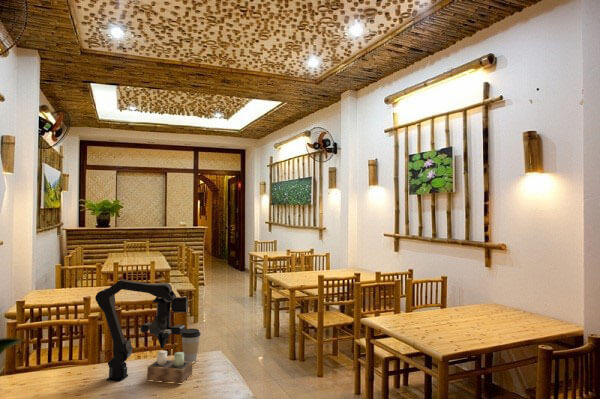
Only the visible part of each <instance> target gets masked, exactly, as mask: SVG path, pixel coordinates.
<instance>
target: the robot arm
mask: <svg viewBox="0 0 600 399" xmlns="http://www.w3.org/2000/svg"><path fill="white" fill-rule="evenodd" d="M122 290H123V291H131V292H137V293H145V294H149V295H152V296H154V297H155V298H154V299H153V300H152V301H151V302H152V303H154V304H155V303H156V315H154V316H155V317H154V320H153V321H152V322H149V321H148V322H146V323H143V324H141V326H140V328H139V329H140V332H141V333H147V332H149V334H150V335H154V336H155V337H156V338H157V340H158V343H159V346H160V348H161V349H164V348H165V346H166V345H167V344H166V343H167V341H168V339H169V337H170V336H171V334H172V335H174V336H175V335H176V336H177V335H180V336H181V334H182V333H183V332H185V329H186V326H185V324H175V325H174V326H172V322H171V317H172V312H173V313H188V310H189V302H188V300H189V299H188V296H177V294H175V292H174V290H173V287H172V285H171V284H170V283H169V282H156V283H149V282H143V281H142V282H141V281H135V280H130V279H129V280H128V279H124V278H123V279H119V280H118V281H116V282H115V283H114V284H113V285H111V286H109V287H106V288H104V289H102V290H100V291H98V292H97V293H96V295H95V301H96V303H97V305H98V307H99V308H100V310H102V311H103V313H104V317H105V320H106V322H107V327H108V329H109V330H108V331H109V333H110V335H111V340H112V343H113V347H112V354H113V357H112V358H111V359H110V360H109V361H108V362H107V365H108V377H107V378H106V381H110V382H111V381H112V382H121V381H123V380H124V379H125V377H126V378H127V377H128V376H129V373H128V366H127V365H128V364H127V362H126V361H128V358H130V356H131V355H132V353H133V348H134V347H133V345H132V342H131V339H128V340H127V339H126V338H125V336H124V332H123V330H122V325H121V323H120V319H119V317H118V313H117V311H116V295H117V294H118V293H119V292H120V291H122ZM171 311H172V312H171Z"/></svg>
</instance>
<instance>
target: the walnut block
mask: <svg viewBox="0 0 600 399" xmlns="http://www.w3.org/2000/svg"><path fill="white" fill-rule="evenodd" d="M146 373H147V374H146V376H147V377H146V381H147V380H153V381H162V382H174V383H183V382H184V381H185V380H186V379H187V378H188V377H189V376H190V375H191V374H192V375H193V364H192V362H188V361H184V366H183V367H174V359H167V364H166V365H165V366H163V365H157V360H156V361H154V362H153V363H151V364H150V365H148V366H147V372H146ZM186 381H187V380H186ZM186 381H185V382H186ZM185 382H184V383H185ZM184 383H183V384H184Z"/></svg>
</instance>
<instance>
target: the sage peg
mask: <svg viewBox="0 0 600 399" xmlns="http://www.w3.org/2000/svg"><path fill="white" fill-rule="evenodd" d="M173 360H174V367H183V366H184V353H183V351H178V352H174V359H173Z"/></svg>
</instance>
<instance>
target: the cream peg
mask: <svg viewBox="0 0 600 399" xmlns="http://www.w3.org/2000/svg"><path fill="white" fill-rule="evenodd" d="M156 355H157V359H156V361H157V365H163V366H165V365H166V364H167V360H168V351H167V350H158V351H157V354H156Z"/></svg>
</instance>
